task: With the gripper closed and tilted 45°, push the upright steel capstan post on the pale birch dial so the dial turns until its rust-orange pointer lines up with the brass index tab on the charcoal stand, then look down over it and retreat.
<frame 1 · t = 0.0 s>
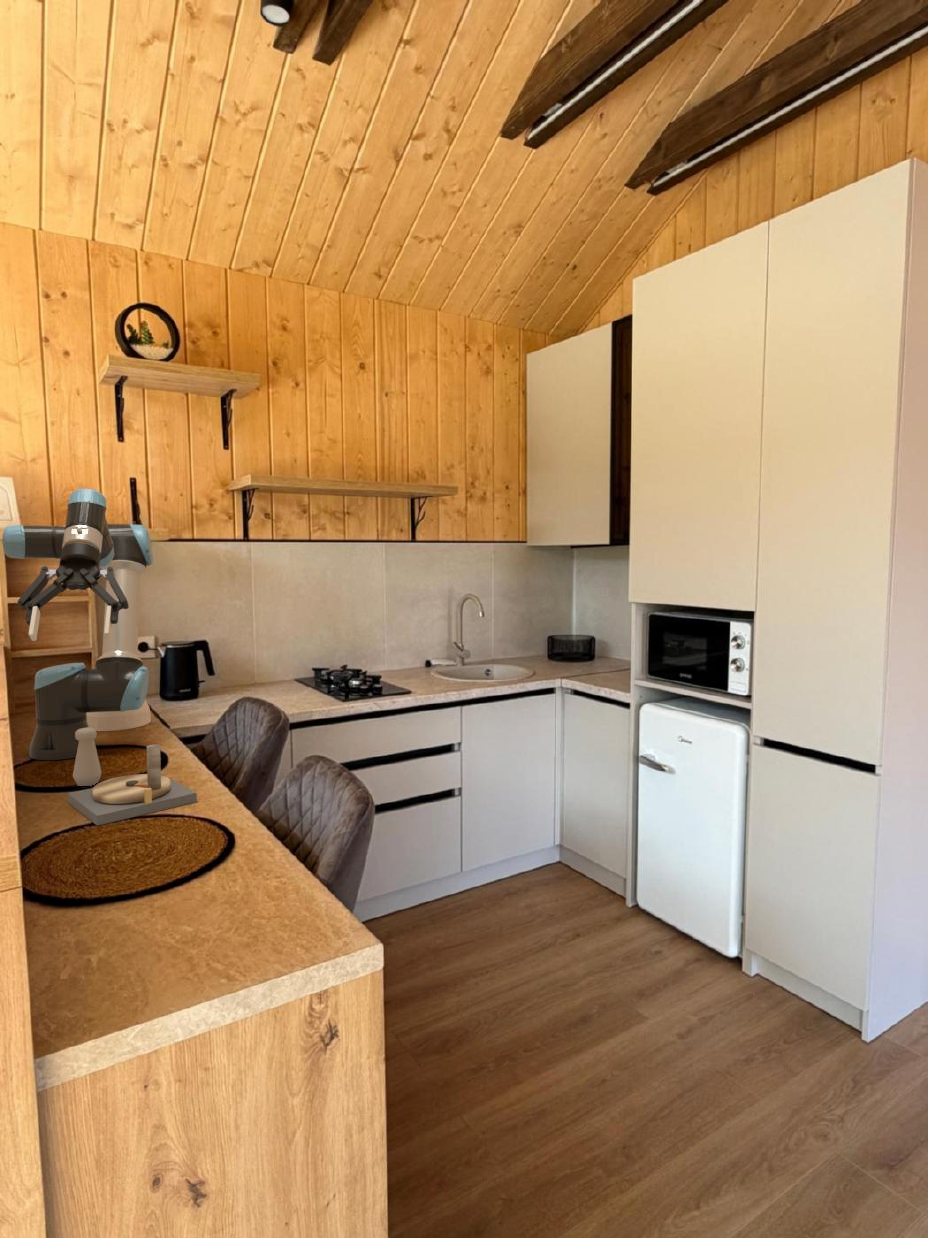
hand: (70, 637, 146), 36 cm above the worktop, tool tilted 35°, fingers open, 13 cm apart
stand base: (132, 802, 154), on the worktop
salt shaker: (87, 785, 165), on the worktop
dial: (131, 767, 153), point 8 cm above the worktop, hinge at 25.0°
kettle: (115, 724, 224), on the worktop
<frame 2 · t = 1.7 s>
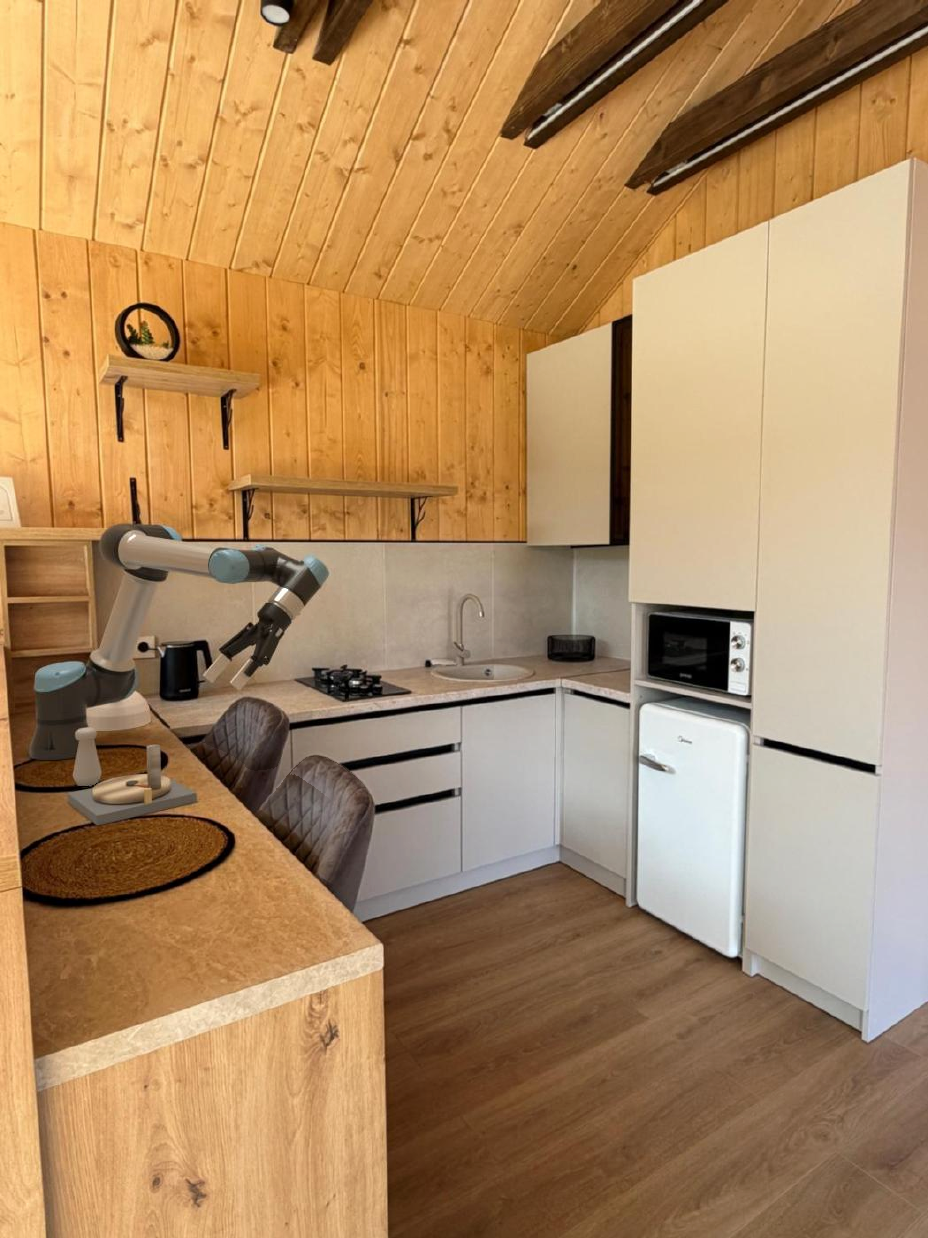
hand: (220, 683, 160), 24 cm above the worktop, tool tilted 45°, fingers open, 13 cm apart
nothing on the worktop moved.
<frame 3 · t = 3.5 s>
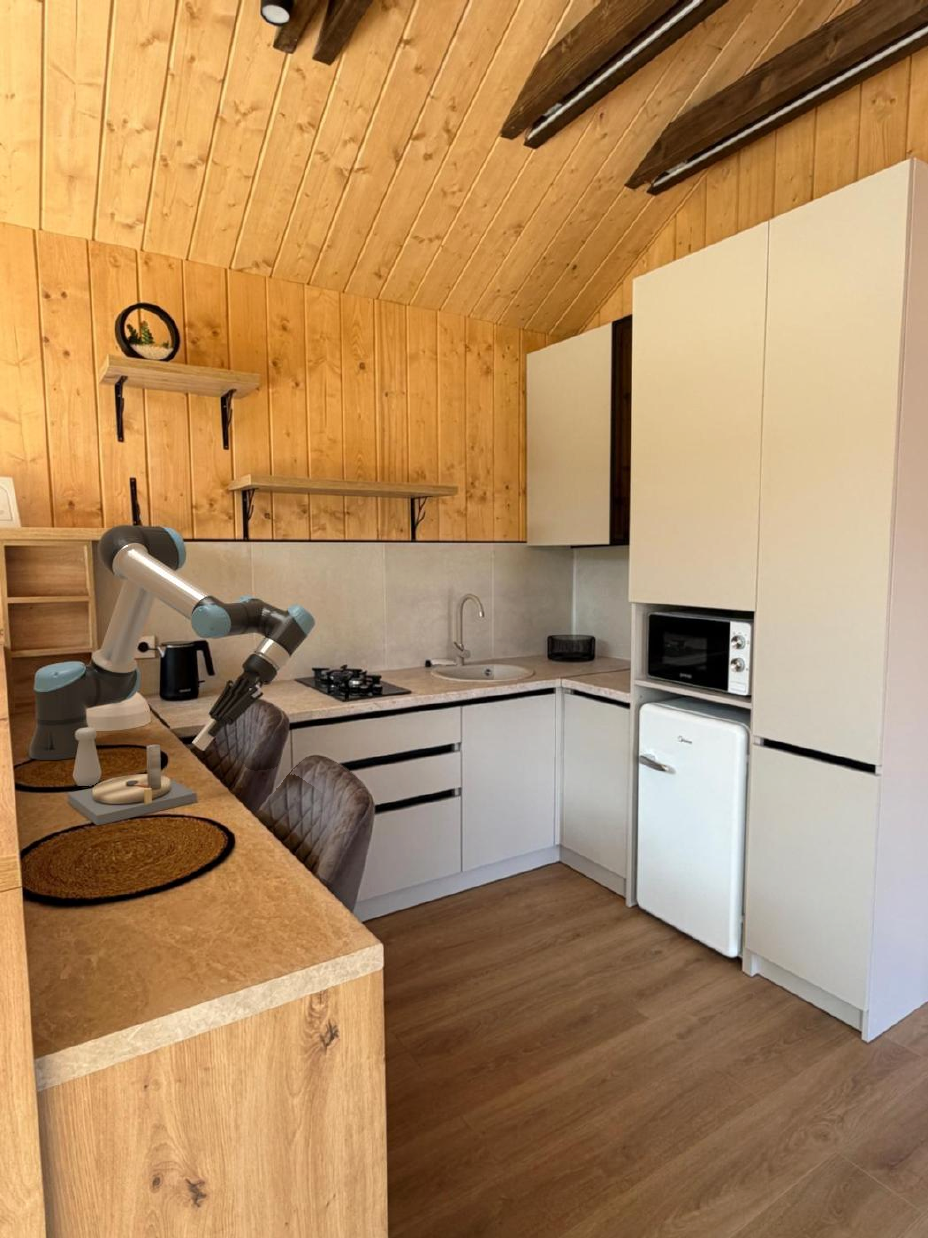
hand: (197, 746, 157), 11 cm above the worktop, tool tilted 45°, fingers closed
nothing on the worktop moved.
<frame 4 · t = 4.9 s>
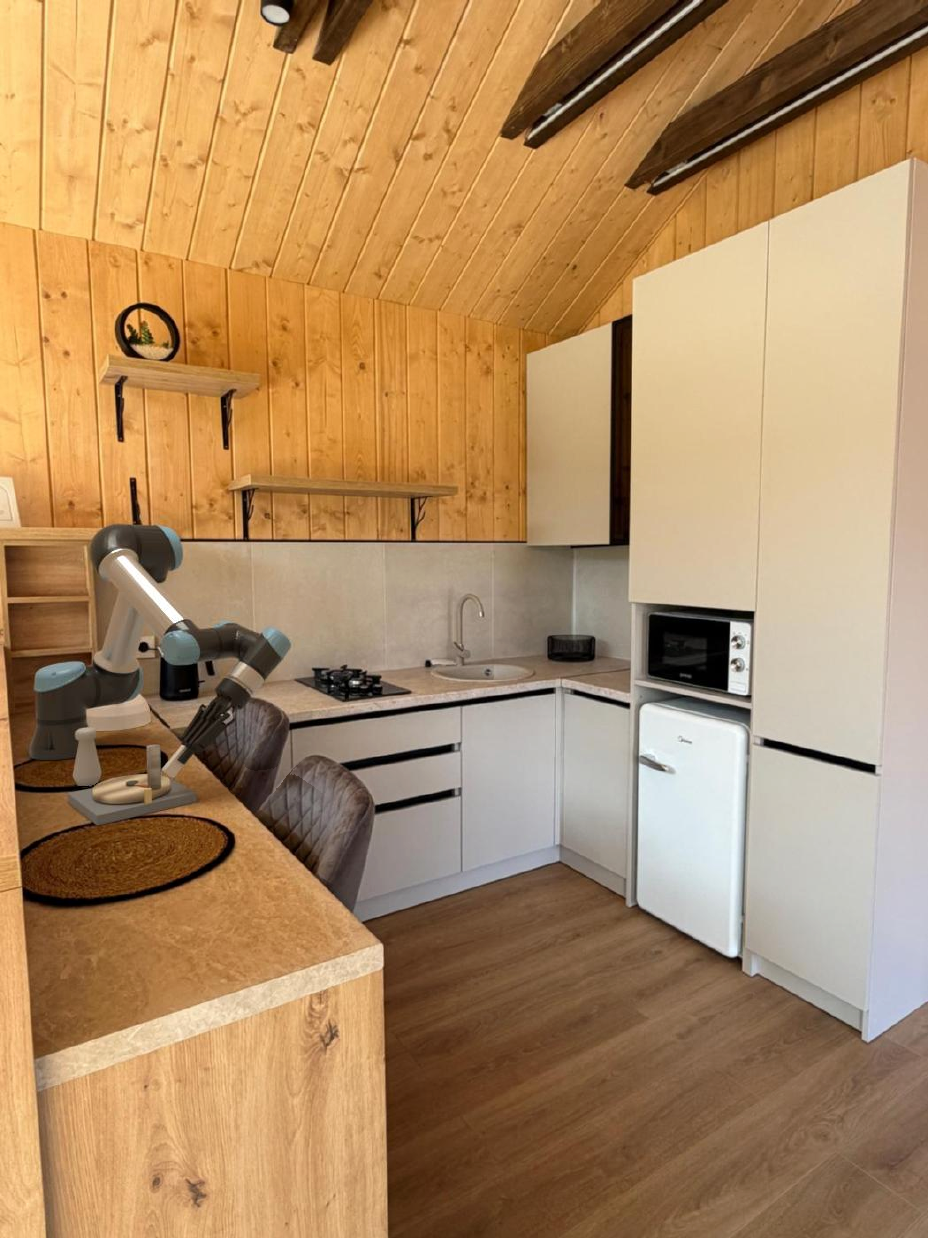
hand: (167, 774, 153), 6 cm above the worktop, tool tilted 45°, fingers closed
dial: (131, 767, 153), point 8 cm above the worktop, hinge at 25.0°, touching gripper
everything else where it was.
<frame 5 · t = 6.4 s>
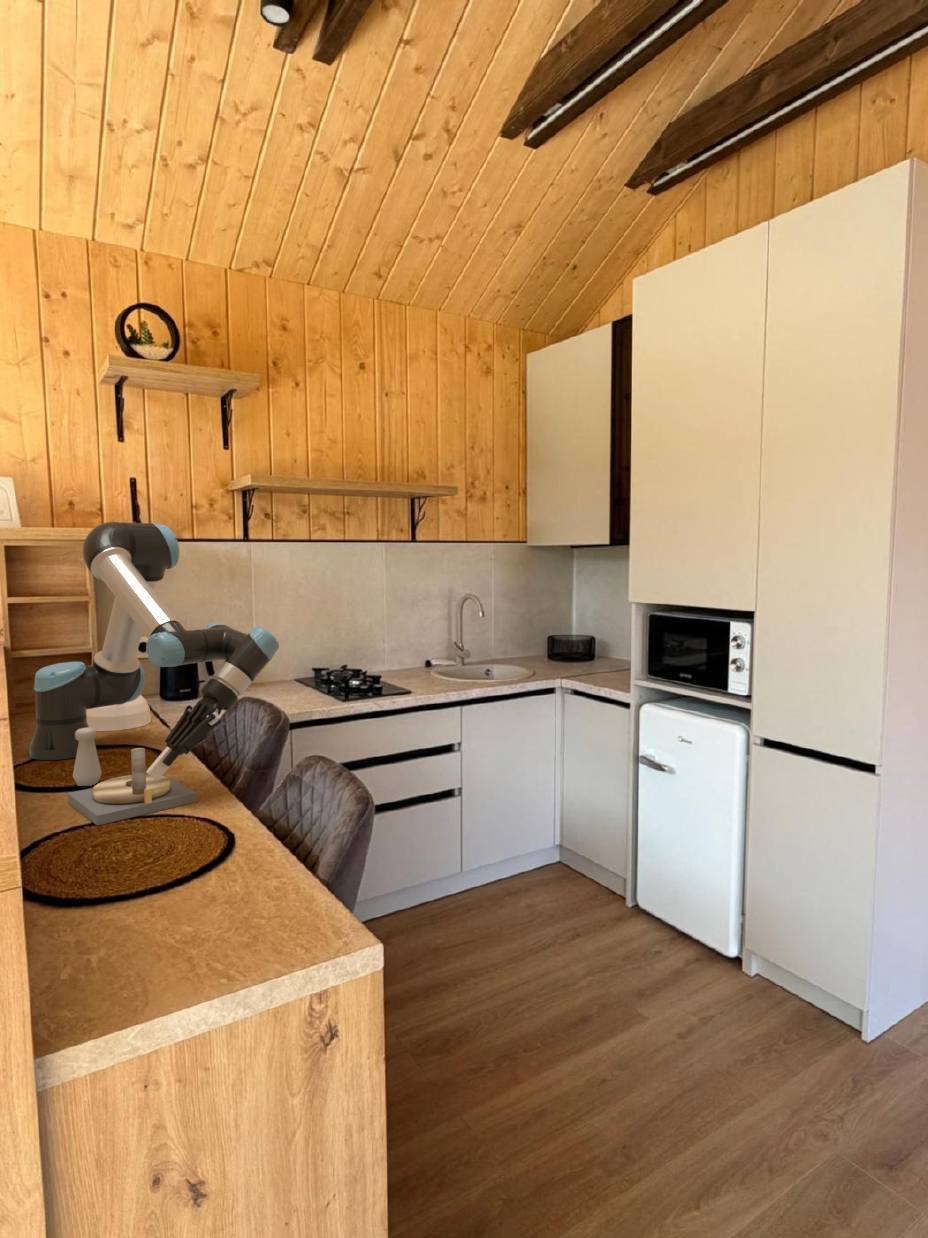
hand: (151, 776, 151), 7 cm above the worktop, tool tilted 45°, fingers closed
dial: (131, 767, 153), point 8 cm above the worktop, hinge at -7.3°
everything else where it was.
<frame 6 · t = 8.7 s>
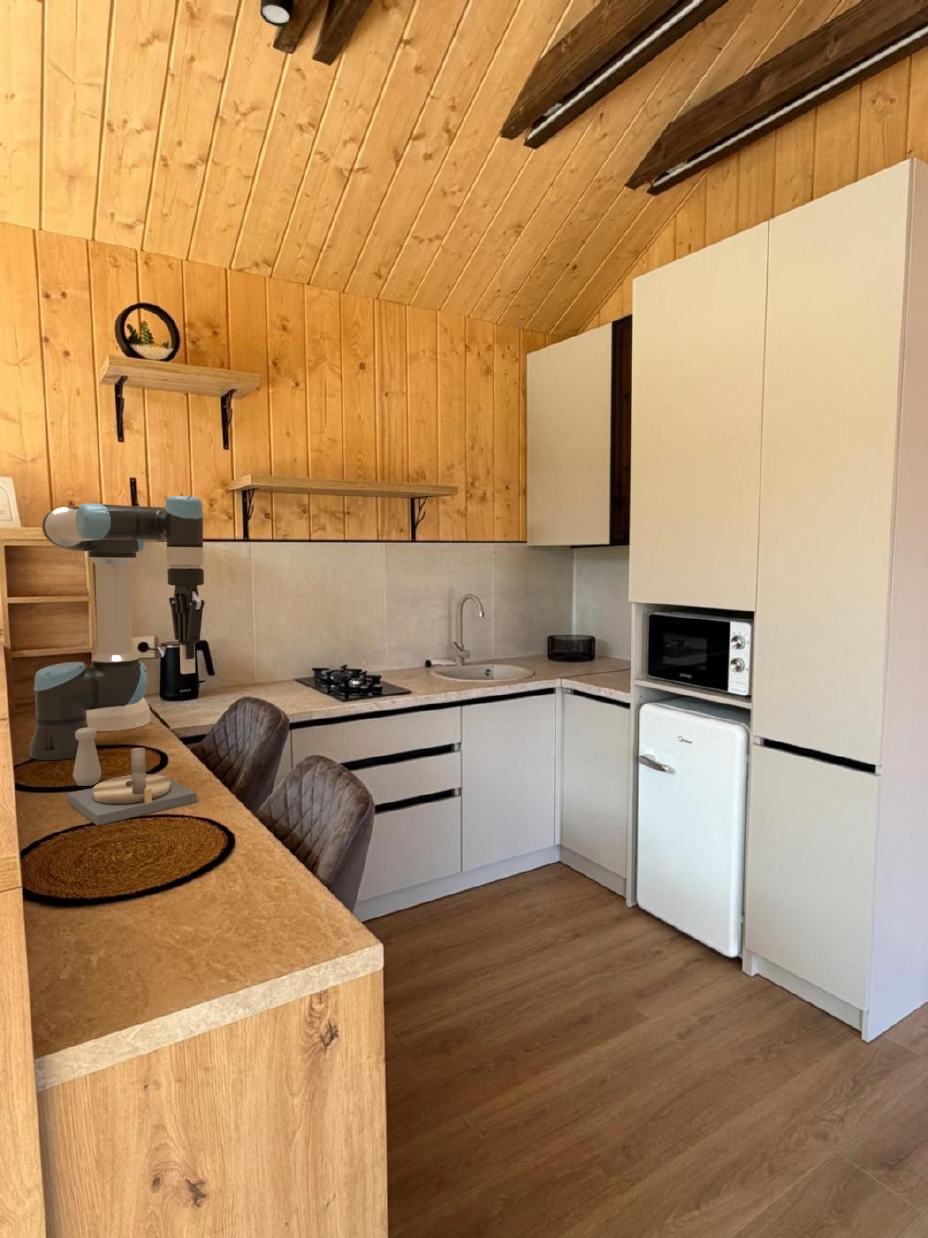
hand: (187, 672, 162), 26 cm above the worktop, tool pointing down, fingers closed
nothing on the worktop moved.
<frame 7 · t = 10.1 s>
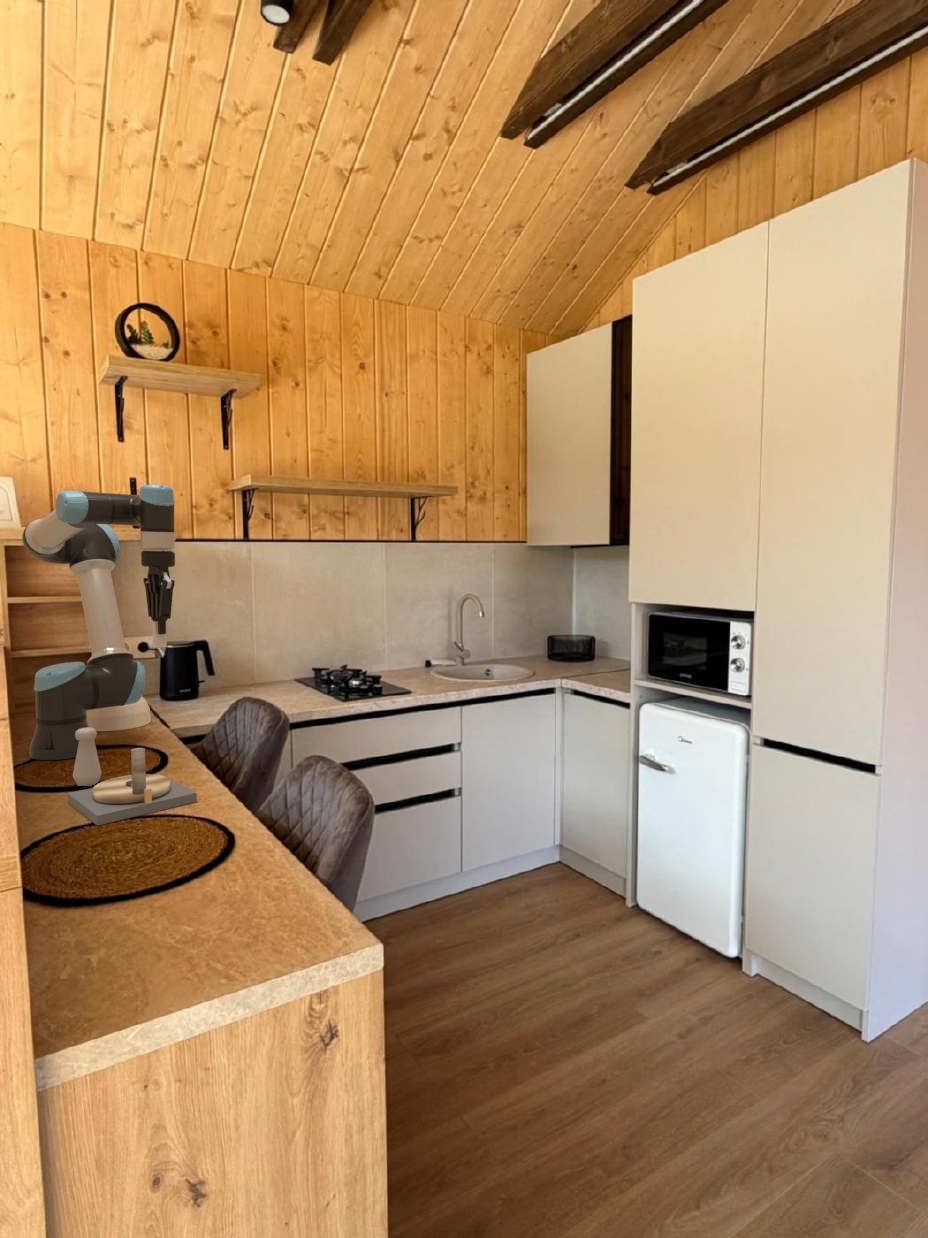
hand: (160, 647, 176), 30 cm above the worktop, tool pointing down, fingers closed
nothing on the worktop moved.
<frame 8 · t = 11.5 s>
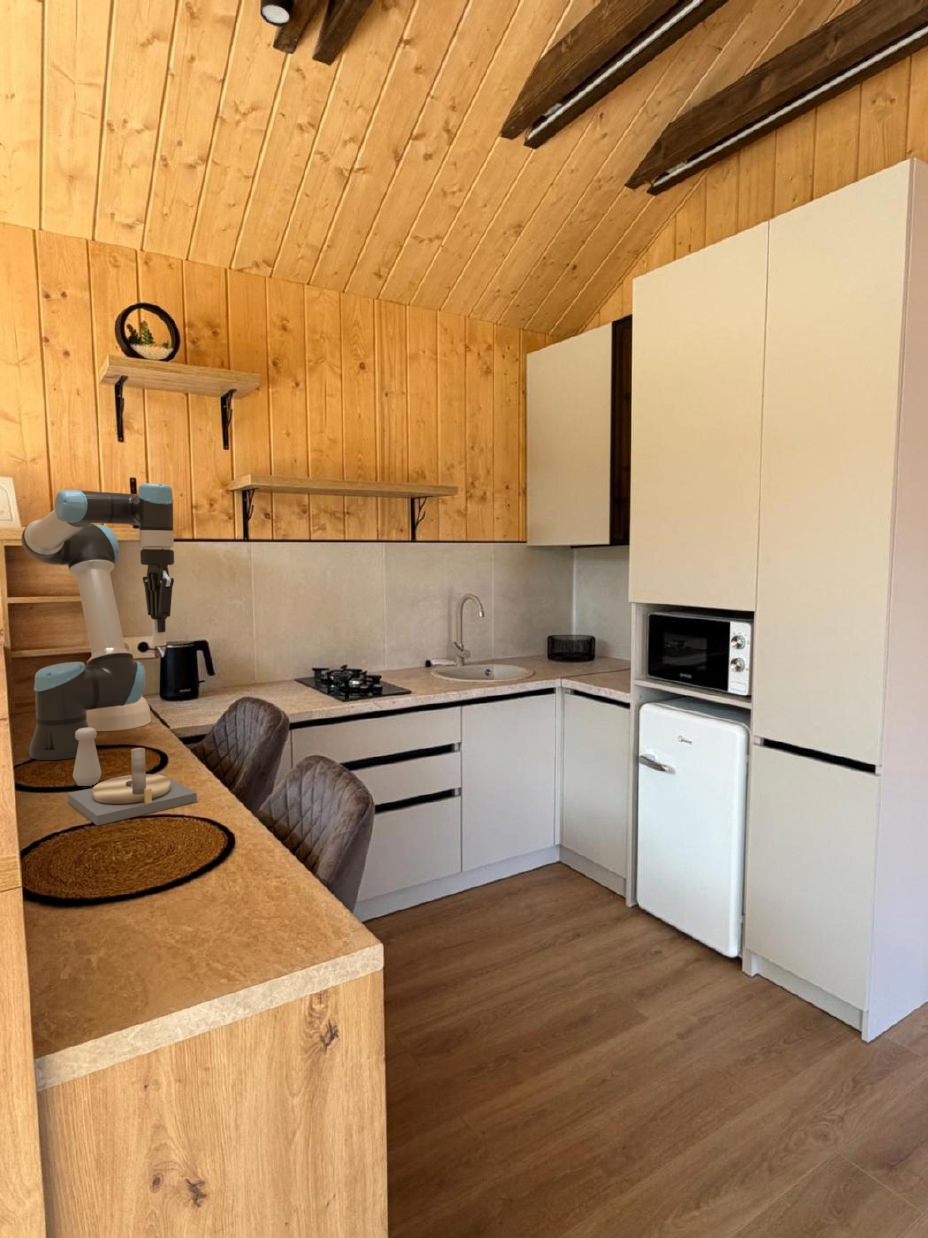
hand: (159, 645, 177), 30 cm above the worktop, tool pointing down, fingers closed
nothing on the worktop moved.
at the end: dial at -7° (first picture: +25°); salt shaker moved 0.2 cm from its start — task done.
